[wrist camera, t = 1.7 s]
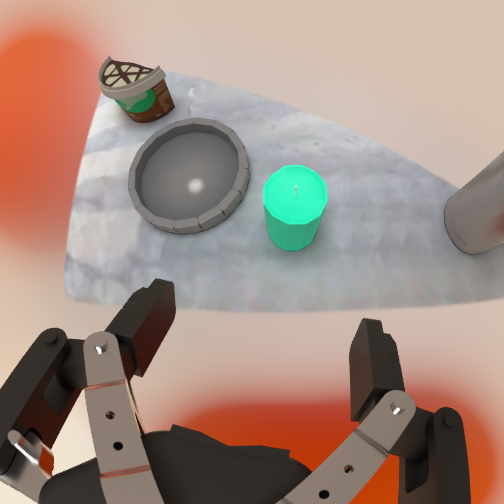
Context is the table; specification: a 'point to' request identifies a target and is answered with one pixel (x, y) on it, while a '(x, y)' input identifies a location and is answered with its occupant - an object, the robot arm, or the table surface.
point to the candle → (294, 206)
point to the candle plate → (189, 176)
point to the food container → (136, 89)
